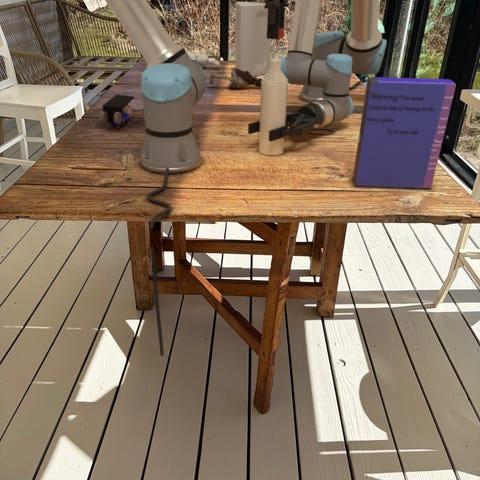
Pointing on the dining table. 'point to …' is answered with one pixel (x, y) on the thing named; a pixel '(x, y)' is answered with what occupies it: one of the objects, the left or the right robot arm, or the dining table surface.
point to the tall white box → (252, 38)
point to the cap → (281, 33)
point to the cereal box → (402, 131)
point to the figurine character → (116, 110)
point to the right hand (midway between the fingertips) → (259, 132)
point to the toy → (202, 59)
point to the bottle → (272, 108)
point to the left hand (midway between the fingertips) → (275, 37)
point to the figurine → (239, 79)
